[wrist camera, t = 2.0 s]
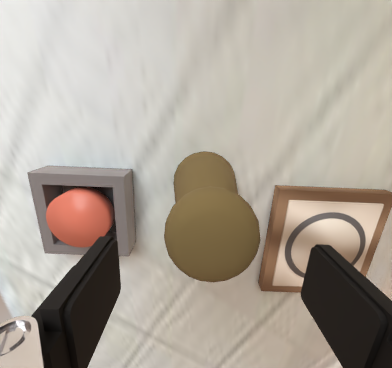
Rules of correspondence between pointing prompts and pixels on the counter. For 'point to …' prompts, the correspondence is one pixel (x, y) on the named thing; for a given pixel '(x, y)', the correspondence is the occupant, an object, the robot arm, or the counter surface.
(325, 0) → the counter surface
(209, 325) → the counter surface
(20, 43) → the counter surface
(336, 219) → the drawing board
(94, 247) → the robot arm
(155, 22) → the counter surface
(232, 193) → the olive gourd
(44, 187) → the button housing
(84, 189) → the button
